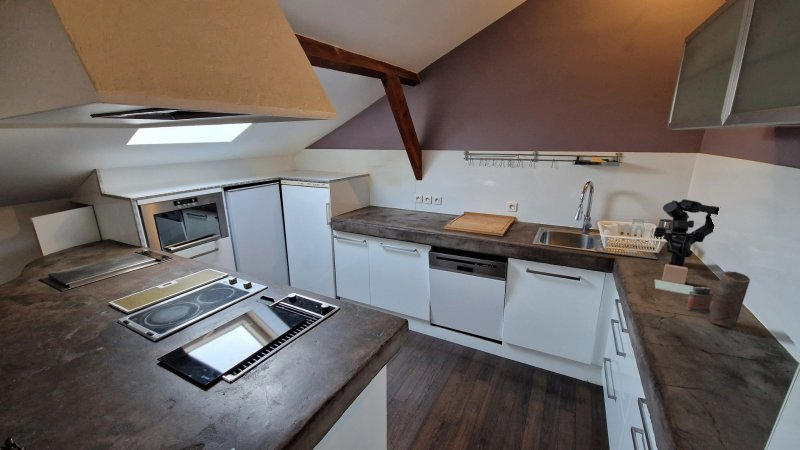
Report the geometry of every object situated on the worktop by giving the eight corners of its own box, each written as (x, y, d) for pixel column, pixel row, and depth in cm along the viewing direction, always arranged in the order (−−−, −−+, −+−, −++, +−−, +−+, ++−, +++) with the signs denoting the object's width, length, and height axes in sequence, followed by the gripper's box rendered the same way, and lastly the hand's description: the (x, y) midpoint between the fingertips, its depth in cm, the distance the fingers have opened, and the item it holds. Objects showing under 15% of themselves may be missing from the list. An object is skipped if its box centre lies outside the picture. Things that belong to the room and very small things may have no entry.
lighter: (704, 307, 133) (710, 285, 130) (711, 312, 130) (717, 289, 127) (683, 307, 134) (688, 285, 131) (689, 311, 130) (695, 289, 128)
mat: (654, 280, 157) (654, 279, 157) (692, 287, 149) (693, 286, 149) (655, 288, 149) (655, 287, 149) (696, 296, 142) (696, 295, 141)
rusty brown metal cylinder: (736, 323, 122) (750, 274, 116) (735, 332, 117) (750, 281, 111) (708, 316, 127) (721, 268, 122) (706, 324, 122) (719, 275, 117)
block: (662, 279, 158) (665, 264, 156) (683, 283, 153) (687, 267, 151) (662, 281, 156) (665, 265, 154) (684, 285, 151) (687, 269, 149)
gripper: (658, 211, 162) (655, 238, 157) (709, 215, 152) (707, 245, 146) (655, 222, 170) (652, 249, 165) (703, 227, 160) (701, 256, 155)
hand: (677, 249), depth 157 cm, fingers open, 4 cm apart
